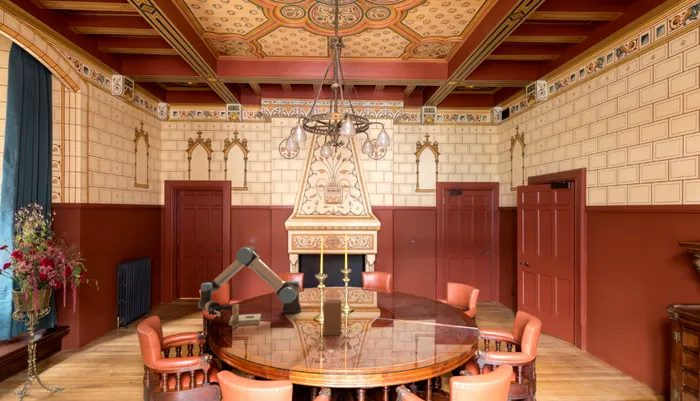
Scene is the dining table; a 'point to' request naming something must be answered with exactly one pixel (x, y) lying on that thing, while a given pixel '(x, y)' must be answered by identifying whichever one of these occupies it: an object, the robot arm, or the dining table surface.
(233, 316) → the peg
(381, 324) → the dining table surface
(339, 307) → the block
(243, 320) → the board
